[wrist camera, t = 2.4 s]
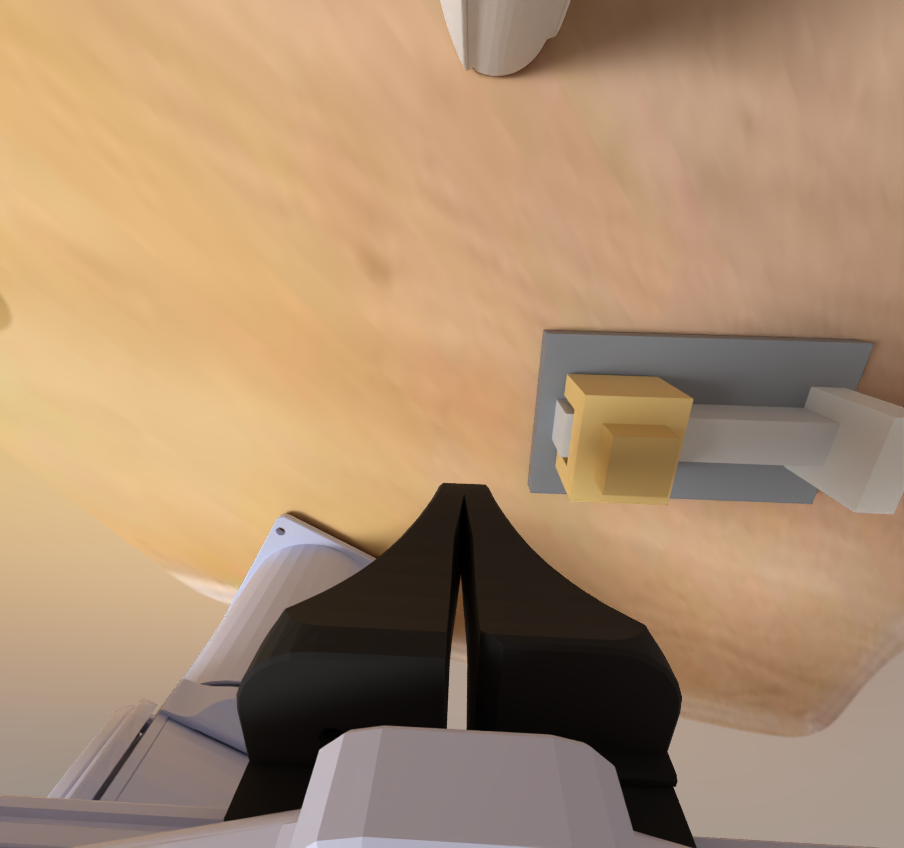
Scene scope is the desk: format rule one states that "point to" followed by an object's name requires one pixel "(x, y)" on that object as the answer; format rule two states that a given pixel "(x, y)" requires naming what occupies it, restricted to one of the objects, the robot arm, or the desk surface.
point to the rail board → (701, 383)
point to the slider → (623, 438)
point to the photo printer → (501, 31)
